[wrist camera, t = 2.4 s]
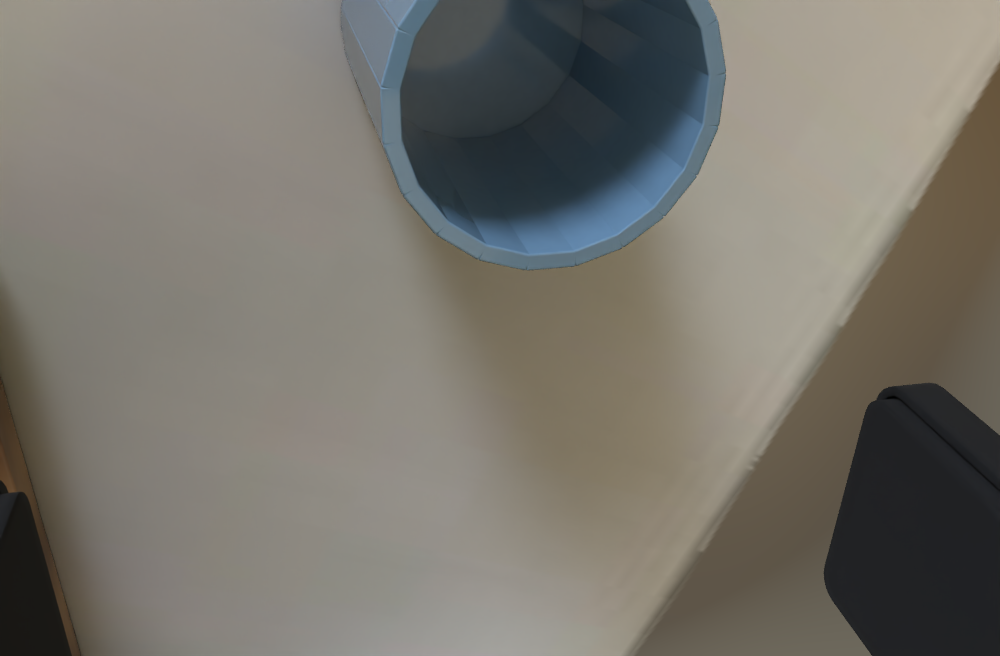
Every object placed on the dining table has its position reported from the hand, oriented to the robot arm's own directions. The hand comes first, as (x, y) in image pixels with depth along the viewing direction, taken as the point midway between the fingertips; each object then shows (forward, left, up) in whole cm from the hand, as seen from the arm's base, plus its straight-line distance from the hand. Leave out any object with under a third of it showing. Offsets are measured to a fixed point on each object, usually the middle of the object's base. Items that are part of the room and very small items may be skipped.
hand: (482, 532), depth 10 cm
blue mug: (-4, +4, -19) cm, 20 cm away
